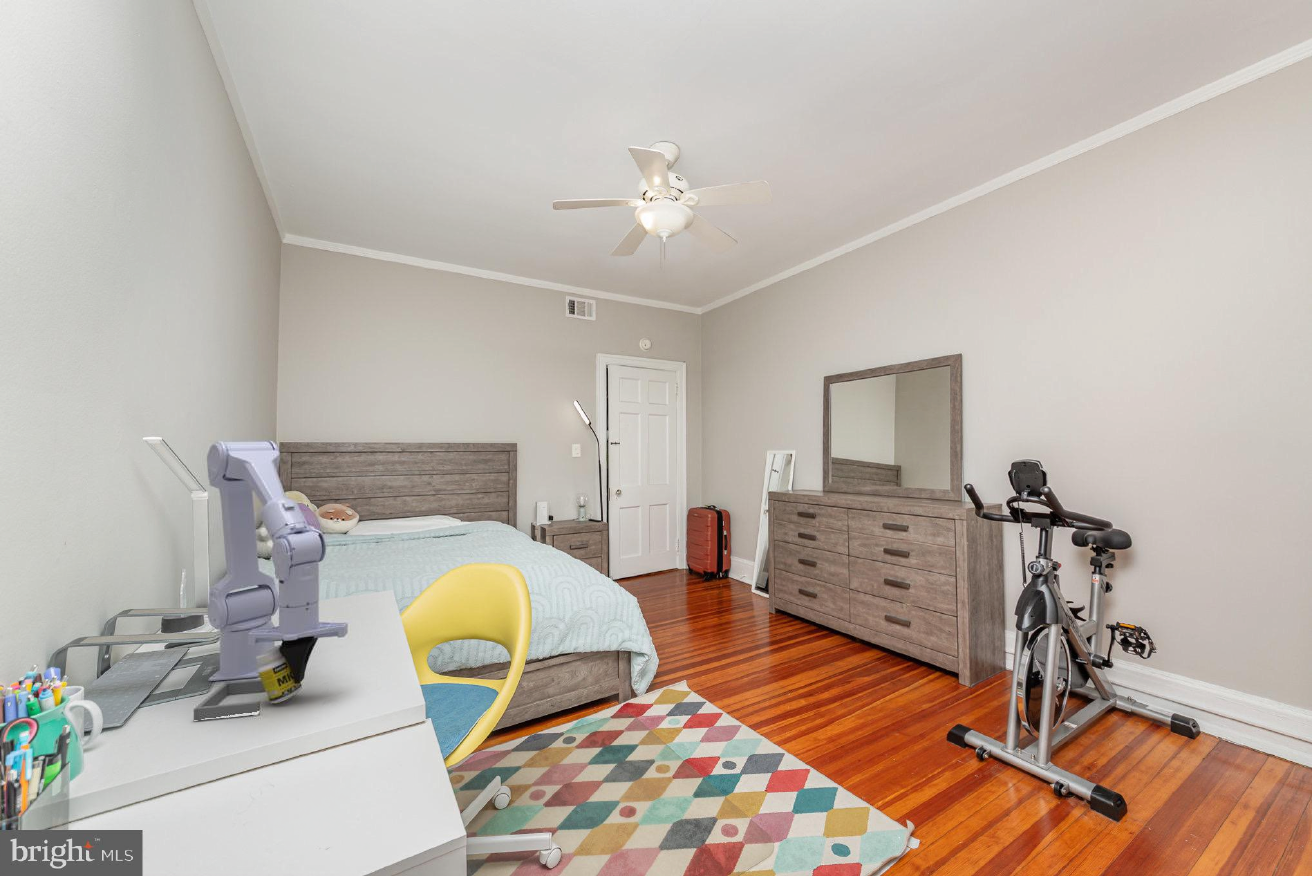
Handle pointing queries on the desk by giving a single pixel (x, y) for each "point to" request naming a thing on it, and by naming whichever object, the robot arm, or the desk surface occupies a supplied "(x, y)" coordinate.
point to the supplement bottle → (276, 675)
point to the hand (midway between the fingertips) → (299, 681)
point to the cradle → (229, 688)
